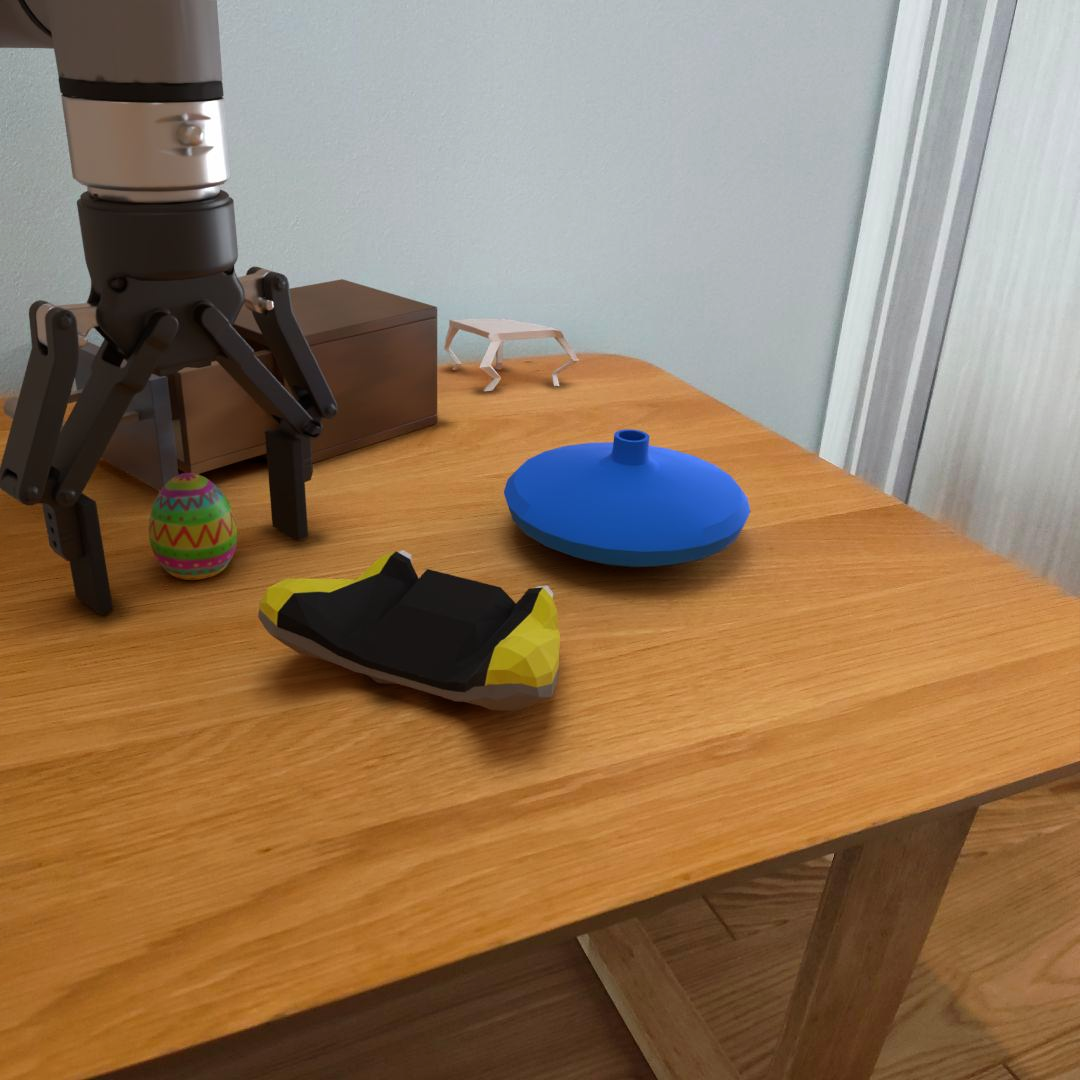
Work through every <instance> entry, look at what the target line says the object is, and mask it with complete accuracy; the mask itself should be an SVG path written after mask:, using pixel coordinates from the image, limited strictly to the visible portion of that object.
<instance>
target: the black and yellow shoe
mask: <svg viewBox="0 0 1080 1080" xmlns="http://www.w3.org/2000/svg"><path fill="white" fill-rule="evenodd" d="M412 556H413V555H412V554H411V553H409V552H407V551H406V550H404V549H402V550H399V551H397V550H395V551H392V552H389V553H385V554H383V555H381V556H379V558H377V559H376V560H374V562H373V563H372V564H371V565H369V567H368V568H367V569H365V570H364V571H363V572H362V573H361V574H360V575H359V576H358V577H356V578H301V577H300V578H284V579H282V580H281V581H279V582H275V584H272V585H270V586H268V587H267V588H266V590H265V592H264V593H263V595H262V597H261V598H260V600H259V606H258V615H257V618H258V619H259V621H260V622H261V625H262V626H263V627H264V629H265V630H266V631H267V632H268V634H269V635H270V636H272V637H273V638H275V639H276V640H277V641H279V642H280V643H281V644H283V645H284V646H286V647H287V648H289V649H291V650H293V651H294V652H296V653H297V654H299V655H304V656H306V657H307V656H308V657H310V658H313V659H314V658H315V659H318V660H321V661H322V660H323V661H325V662H329V663H332V664H335V665H337V666H340V667H343V668H345V669H347V670H349V671H352V672H354V673H359V674H362V675H366V676H367V677H368V678H370V679H372V680H373V681H374V682H375V683H377V684H385V685H386V684H387V685H388V684H389V685H401V686H404V687H408V688H412V689H414V690H417V691H422V692H425V693H428V694H432V695H435V696H439V697H442V698H444V699H448V700H450V701H454V702H464V703H468V704H472V705H476V706H479V707H483V708H485V709H488V710H492V711H502V712H503V711H509V712H510V711H512V712H513V711H516V712H517V711H520V710H523V709H527V708H528V707H531V706H534V705H536V704H538V703H541V702H544V701H546V700H548V699H551V698H552V697H553V695H554V692H555V689H556V686H557V684H558V680H559V671H560V670H559V668H560V649H561V632H560V626H559V612H558V609H557V607H556V603H555V601H554V593H553V591H552V589H551V588H550V587H549V586H548V585H538V586H535V587H531V588H528V589H527V590H526V591H525V592H524V593H523V595H522V596H521V597H520V598H519V600H518V601H514V600H513V599H512V597H511V596H510V595H508V593H507V592H506V591H505V590H504V589H503V588H502V587H501V586H497V585H493V584H490V583H485V582H481V581H477V580H473V579H470V578H465V577H461V576H456V575H454V574H449V573H445V572H442V571H436V570H432V569H429V568H426V569H425V571H424V572H423V573H422V574H421V575H420V577H419V576H418V574H417V572H416V570H415V568H414V566H413V557H412Z"/></svg>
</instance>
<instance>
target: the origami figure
mask: <svg viewBox="0 0 1080 1080" xmlns="http://www.w3.org/2000/svg"><path fill="white" fill-rule="evenodd" d="M448 323H449V325H448V326H449V327H448V329H447V333H446V336H445V342H444V347H443V348H444V351H445V352H446V353H447V354H448V355H449V357H450V358H451V359H452V360H453V361H454V362H455V365H454V366H453V367H452V368H451V371H457V370H458V369H459V368H460V367H461V366H462V362H461V361H460V360H459V359H458V357H457V356H456V355H455V354H454V352H453V351H452V350H451V348H450V347H451V345H452V342H453V340H454V337H455V336H456V335H457V334H458V332H459V330H461V331H463V332H467V333H471V334H474V335H477V336H480V337H483V338H486V339H489V342H490V343H489V345H488V347H487V348H486V351H485V353H484V355H483V357H482V359H481V361H480V363H479V365H478V367H479V368H480V370H481V371H483V372H484V373H486V374H487V375H488V376H490V377H491V378H492V379H491V380H490V381H489V382H488V384H486V386H485V387H484V388H483V392H492V391H494V389H495V388H496V387H497V386H498V383H499V382H500V380H502V377H501V376H500V374H499V373H498V372H497V371H496V370H502V367H503V362H504V341H519V340H535V339H549V338H554V339H555V340H556V342H557V343H558V344H559V345H560V346H561V347H562V348H563V350H564V351H565V352H566V354H567V355H568V356H569V357H570V358H571V359H569V360H568V361H567V362H565V363H564V364H562V365H561V366H560V367H558V368H557V369H555V370H554V371H552V372H550V377H551V382H552V385H553V386H554V387H560V381H559V376H558V374H560V373H562V372H563V371H566V370H567V369H568V368H570V367H571V366H573V365H575V364H576V363H578V362H579V361H580V360H579V358H578V356H577V355H576V353H575V351H574V349H573V348H572V347H571V345H570V344H569V342H568V341H567V339H566V337H565V336H564V334H563V332H562V331H561V330H560V329H557V328H553V327H550V326H545V325H541V324H537V323H533V322H527V321H521V320H520V321H519V320H513V319H506V318H505V319H504V318H499V317H497V318H496V317H495V318H494V317H493V318H464V319H463V318H462V319H461V318H459V319H449V320H448ZM494 358H495V365H494V367H493V366H492V363H493V361H494Z"/></svg>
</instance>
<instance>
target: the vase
mask: <svg viewBox="0 0 1080 1080" xmlns="http://www.w3.org/2000/svg"><path fill="white" fill-rule="evenodd" d="M613 434H614V435H613V442H612V441H611V442H607V441H605V442H584V443H577V444H576V443H575V444H571V445H569V444H568V445H564V446H560V447H556V448H552V449H549V450H545V451H542V452H540V453H538V454H536V455H534V456H532V457H530V458H528V459H526V460H525V461H524V462H523V463H522V464H521V465H520V466H519V467H518V468H517V469H516V470H515V471H514V472H513V473H512V474H511V475H510V476H509V477H508V478H507V480H506V483H505V486H504V489H503V494H504V495H503V496H504V498H505V501H506V504H507V507H508V510H509V513H510V516H511V519H512V521H513V522H512V523H514V524H515V525H516V526H517V527H518V529H520V530H521V531H522V532H523V533H524V534H525V535H526V536H527V537H530V538H531V539H533V540H534V541H536V542H538V543H539V544H541V545H543V546H545V547H547V548H550V549H552V550H554V551H558V552H561V553H563V554H566V555H569V556H571V557H574V558H577V559H580V560H584V561H588V562H592V563H597V564H602V565H605V566H611V567H612V566H613V567H626V568H648V567H650V568H652V567H661V566H662V567H663V566H671V565H677V564H682V563H688V562H693V561H698V560H702V559H705V558H707V557H710V556H712V555H714V554H717V553H720V552H722V551H724V550H725V549H727V547H729V546H730V545H732V544H733V543H734V542H735V541H737V539H738V537H739V535H740V534H741V532H742V530H743V528H744V527H745V525H746V522H747V520H748V518H749V516H750V514H751V508H750V503H749V498H748V496H747V495H746V494H745V492H744V491H743V489H742V487H741V486H740V485H739V484H738V483H737V482H736V480H735V479H734V478H733V477H732V476H731V475H730V474H729V473H727V472H726V471H724V470H722V468H720V467H719V466H717V465H715V464H714V463H711V462H709V461H706V460H704V459H702V458H700V457H698V456H695V455H693V454H689V453H685V452H682V451H678V450H675V449H672V448H666V447H660V446H656V445H655V446H654V445H650V435H649V434H648V433H647V432H645V431H643V430H640V429H632V428H627V429H626V428H625V429H619V430H617V431H615V432H614V433H613Z"/></svg>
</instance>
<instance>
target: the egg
mask: <svg viewBox="0 0 1080 1080" xmlns="http://www.w3.org/2000/svg"><path fill="white" fill-rule="evenodd" d="M178 474H179V475H177V476H175V477H174V478H172V479H171V480H169V481H168V482H167V483H166V484H165V486H164V487H163V488H162V489H161V491H159V492H158V493H157V496H156V497H155V498H154V501H153V504H152V507H151V510H150V514H149V520H148V539H149V543H150V547H151V551H152V553H153V555H154V557H155V559H156V561H157V562H158V564H159V565H160V566H161V568H162V569H164V571H166V572H167V573H168V574H170V575H171V576H172V577H174V578H177V579H180V580H185V581H186V580H188V581H195V580H197V581H198V580H204V579H208V578H213V577H214V576H217V575H218V574H220V573H221V572H223V571H224V570H225V569H226V568H227V567H228V565H229V564H230V562H231V561H232V559H233V557H234V555H235V552H236V549H237V548H236V547H237V543H238V525H237V521H236V517H235V514H234V513H235V512H234V511H233V508H232V506H231V504H230V502H229V500H228V498H227V497H226V495H225V494H224V493H223V491H222V490H221V489H220V488H219V486H217V485H216V484H215V483H214V482H213V481H211V480H210V479H208V478H207V477H205V476H203V475H201V474H195V473H185V472H182V473H178Z"/></svg>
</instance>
